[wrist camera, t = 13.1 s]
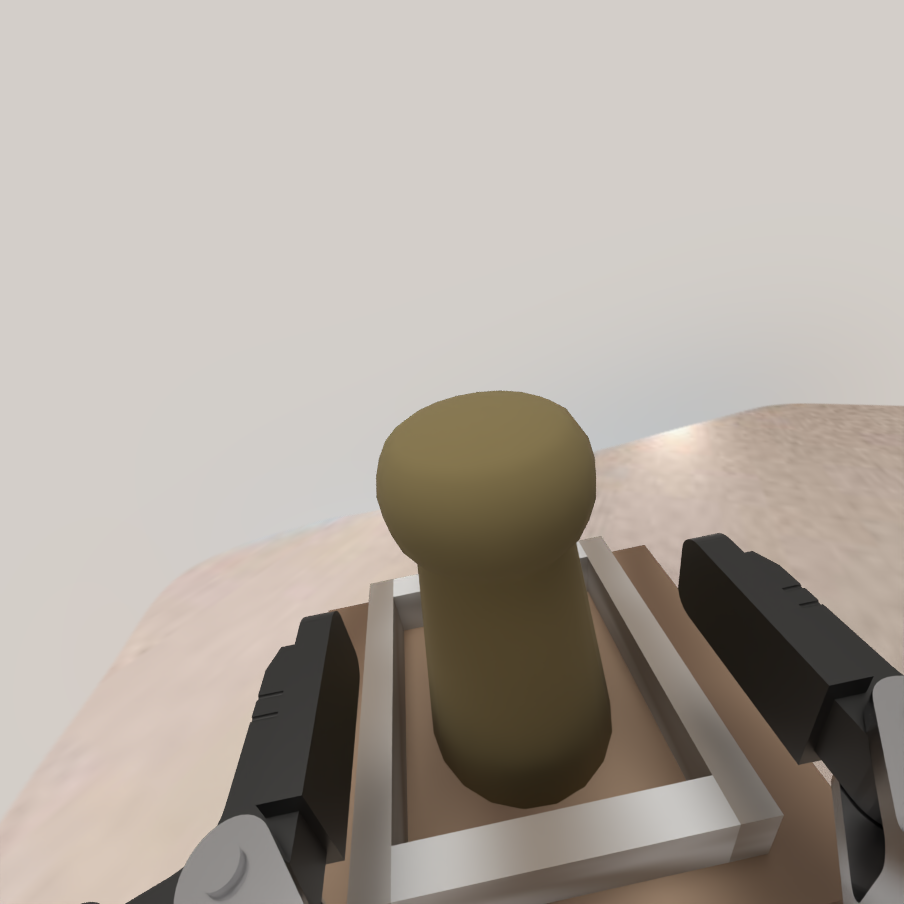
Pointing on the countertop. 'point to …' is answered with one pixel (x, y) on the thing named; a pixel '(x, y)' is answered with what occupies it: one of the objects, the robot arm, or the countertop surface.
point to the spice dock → (606, 794)
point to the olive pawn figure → (503, 589)
